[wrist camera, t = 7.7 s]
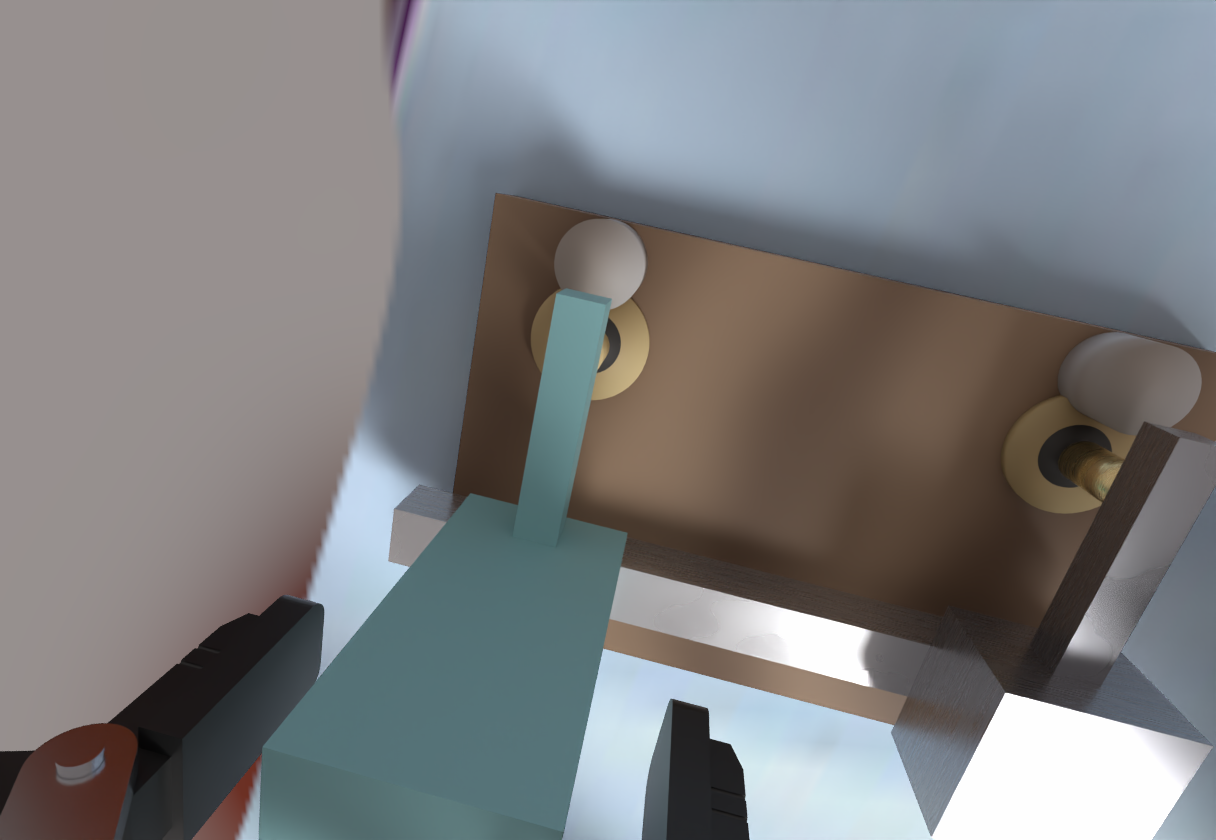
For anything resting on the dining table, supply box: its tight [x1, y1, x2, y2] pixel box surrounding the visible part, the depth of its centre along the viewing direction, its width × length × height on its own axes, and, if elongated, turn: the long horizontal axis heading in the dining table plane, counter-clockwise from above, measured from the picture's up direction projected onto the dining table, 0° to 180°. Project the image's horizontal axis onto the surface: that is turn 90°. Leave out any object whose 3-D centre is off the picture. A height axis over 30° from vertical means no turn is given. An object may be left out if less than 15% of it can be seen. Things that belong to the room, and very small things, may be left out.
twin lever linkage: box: [453, 193, 1216, 725], centre depth 17 cm, size 18×12×3 cm, turn 79°
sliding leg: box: [259, 288, 628, 840], centre depth 12 cm, size 4×10×9 cm, turn 169°
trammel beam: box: [388, 421, 1216, 840], centre depth 15 cm, size 20×10×5 cm, turn 79°
